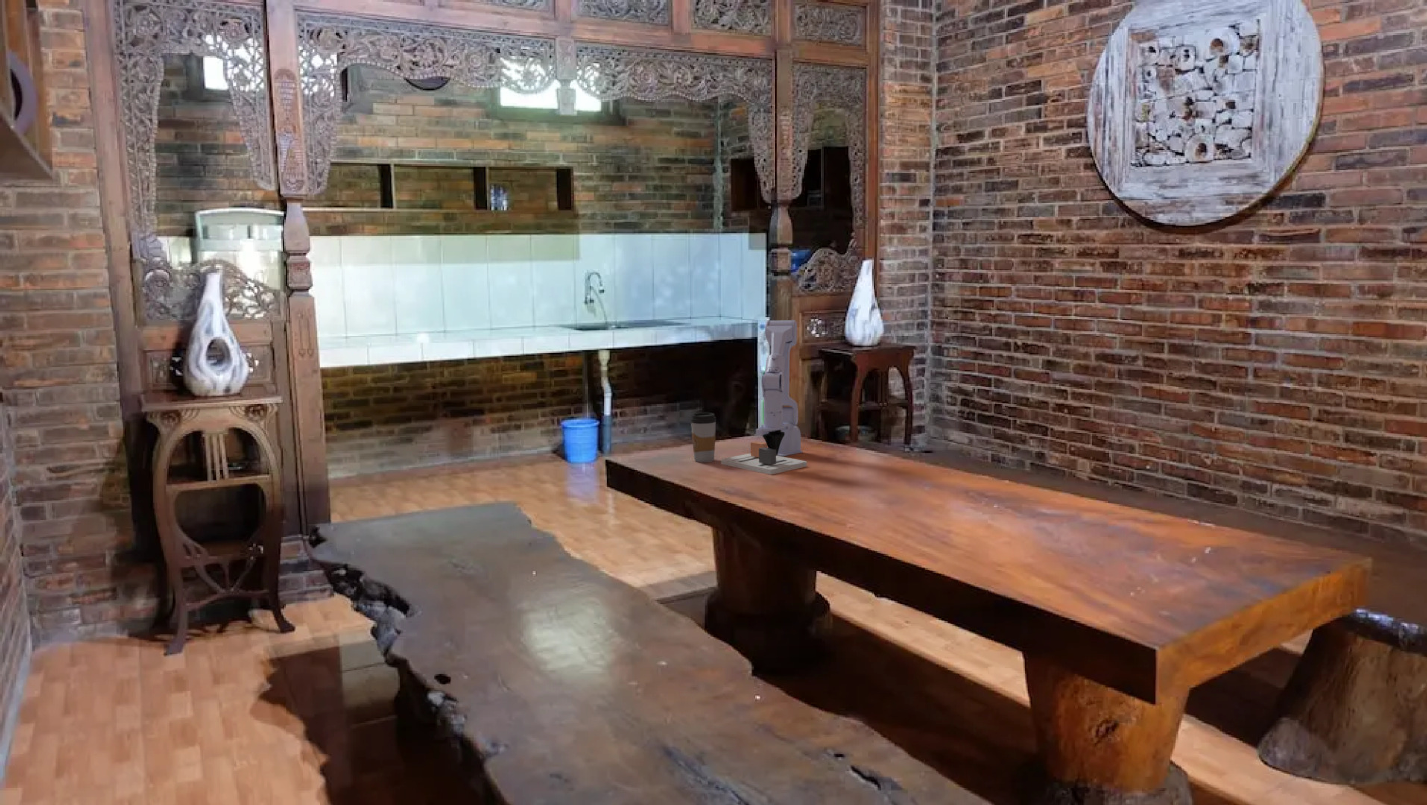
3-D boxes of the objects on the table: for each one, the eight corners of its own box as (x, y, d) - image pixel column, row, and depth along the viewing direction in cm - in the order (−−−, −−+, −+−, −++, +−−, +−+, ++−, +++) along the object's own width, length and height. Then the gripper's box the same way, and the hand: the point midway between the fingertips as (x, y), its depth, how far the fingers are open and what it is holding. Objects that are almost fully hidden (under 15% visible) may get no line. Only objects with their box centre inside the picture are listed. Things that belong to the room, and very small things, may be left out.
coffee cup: (687, 459, 320) (686, 413, 318) (710, 456, 324) (709, 411, 322) (697, 464, 313) (696, 417, 311) (721, 461, 316) (720, 415, 314)
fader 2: (764, 461, 306) (764, 447, 305) (776, 463, 302) (775, 449, 302) (759, 462, 305) (758, 448, 304) (770, 464, 301) (770, 450, 300)
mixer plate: (757, 456, 323) (757, 451, 323) (806, 466, 307) (806, 461, 307) (721, 464, 312) (720, 459, 312) (770, 474, 296) (770, 469, 296)
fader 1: (756, 454, 316) (756, 441, 316) (767, 456, 313) (767, 443, 312) (750, 455, 315) (750, 442, 314) (761, 458, 311) (761, 444, 310)
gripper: (777, 407, 311) (777, 449, 313) (747, 413, 300) (748, 457, 302) (795, 409, 306) (795, 452, 308) (766, 415, 295) (766, 460, 298)
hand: (773, 455), depth 305 cm, fingers closed
